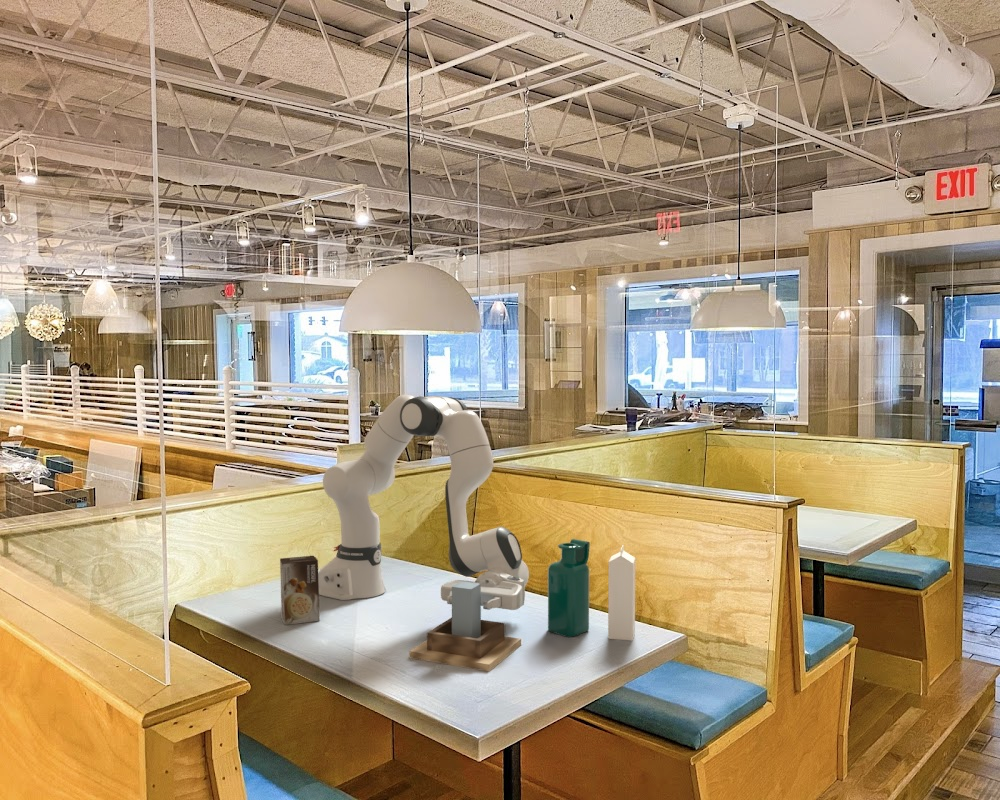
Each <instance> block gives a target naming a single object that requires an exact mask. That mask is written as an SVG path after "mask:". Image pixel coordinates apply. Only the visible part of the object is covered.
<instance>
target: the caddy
mask: <svg viewBox="0 0 1000 800" xmlns="http://www.w3.org/2000/svg"><path fill="white" fill-rule="evenodd" d="M505 626H506V625H505V622H498V621H493V620H492V621H491V620H487V619H486V620H485V619H481V636H480V637H479V638H471V637H465V636H458V635H452V617H450V618H448V619H447V620H445V621H444V622H442V623H440V624H438V625H437V626H436V627H434V628H432V629H431V630H428V631H427V632H426V640H425V641H423V642H421V643H420V644H419V645H417V646H415V647H413V648H412V649H411V650H409V657H408V658H409V659H415V660H420V661H427V662H432V663H433V662H434V663H436V664H437V663H438V664H444V665H450V666H456V667H462V668H468V669H474V670H480V671H485V672H486V671H487V672H490V671H491V670H493V669H494V668H495V667H496V666H498V665H499V664H500V663H501V662H503V661H504V659H506V658H507V657H508V656H510V655H511V654H512V653H514V651H516V650H517V649H518V648H519V647H521V646H522V638H520V637H519V638H517V637H511V636H506V634H505V628H506V627H505Z"/></svg>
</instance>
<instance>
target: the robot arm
mask: <svg viewBox="0 0 1000 800" xmlns="http://www.w3.org/2000/svg"><path fill="white" fill-rule="evenodd" d="M414 436H416V437H429V438H430V437H431V438H433V437H435V438H436V437H441V438H442V439H443V440H444V441H445V444H446V446H447V452H448V455H449V458H450V459H449V460H450V474H449V477H448V479H447V480H446V482H445V487H444V489H445V490H444V491H445V493H444V495H445V496H444V497H445V506H446V507H445V509H446V517H447V519H446V520H447V528H448V529H447V530H448V540H449V541H448V542H449V543H448V546H449V547H448V559H449V563H450V566H451V568H452V569H453V570H454V572H456V573H458V575H461V576H463V577H466V578H468V577H472V576H474V575H477V574H479V573H480V575H478V576H477V577H476V579H475V581H471V580H470V581H469V580H461V579H457V580H451V581H449V582H446V583H444V584H442V585H441V586H440V598H441V600H442V601H444V602H446V604H447V605H452V586H454V585H456V584H458V583H459V582H461V581H463V582H471V583H479V584H481V607H483V610H487V611H489V610H491V609H496V608H497V609H502V610H503V609H504V610H510V611H515V610H516V611H517V610H519V609H520V608H521V607H523V606H524V605H525V597H526V590H525V589H526V585H527V584H528V581H529V577H530V571H529V568H528V565H527V564H526V563H525V561H524V560H523V553H522V548H521V545H520V542H519V540H518V538H517V536H516V535H515V534H514V533H513V532H512V531H511V530H509V529H508V528H506V527H505V526H498V527H495V528H490V529H487V530H485V531H482V532H479V533H475V534H473V535H470V534H469V526H468V518H467V516H468V515H467V502H468V499H469V498H470V496H471V494H472V493H474V492H475V491H476V490H477V489H478V488H479V487H481V486H482V485H483V484H484V483H485V482H486V481H487V479H488V478H489V477H490V476H491V474H492V471H493V468H494V456H493V452H492V449H491V446H490V445H491V444H490V441H489V437H488V435H487V431H486V429H485V428H484V424H483V423H482V421H481V419H480V417H479V415H478V414H477V413H476V412H474V411H472V410H469V408H468V406H466V404H465V403H464V402H463V401H462V400H460V399H458V398H455V397H451V396H449V397H447V396H442V395H441V396H440V395H433V396H432V395H431V396H414V395H411V394H407V393H406V394H405V393H404V394H400V395H399V396H397V397H395V398H394V399H393V401H391V402H390V403H389V405H388V406H386V408H385V409H384V410H383V411H382V413H381V414H380V415H379V417H378V418H377V419H376V421H375V422H374V423H373V426H372V427H371V428H370V430H369V431H368V433H367V434H366V435H365V436H364V437H365V438H364V441H363V442H364V447H365V451H364V452H363V454H362V456H360V457H359V458H357V459H354V460H347V461H341V462H339V463H336V464H334V465H332V466H330V467H329V468H327V469H326V471H325V472H324V474H323V478H322V487H323V490H324V492H325V494H326V495H327V496H328V497H329V498H331V500H333V502H334V504H335V506H336V508H337V512H338V515H339V520H340V537H341V538H340V539H341V540H340V541H341V542H340V544H338V545H337V546H334V547H333V549H334V550H333V552H336V551H337V553H336V554H335V555H336V556H335V557H334V558H332V559H331V560H330V561H329V562H328V563H326V564H325V565H324V566H323V567H321V568H320V569H319V570H318V578H319V596H323V597H327V598H331V599H335V600H336V599H337V600H339V601H340V600H341V601H349V600H355V599H366V598H373V597H377V596H380V595H382V594H384V593H385V592H386V587H385V583H384V578H383V573H382V565H381V561H382V543H381V542H380V541H381V540H380V536H381V535H380V534H381V533H380V529H381V528H380V517H379V515H378V514H377V513H376V512H375V511H373V509H372V508H371V504H370V501H369V500H370V499H369V496H373V495H377V494H381V493H382V492H384V491H385V490H387V489H389V488H390V487H391V486H392V485H393V484H394V481H395V478H396V471H395V466H396V463H397V461H398V459H399V457H400V456H401V455H402V453H403V451H404V450H405V449H406V447H407V446H408V445H409V444H410V442H411V440H412V439H413V437H414ZM481 572H483V573H481Z"/></svg>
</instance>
